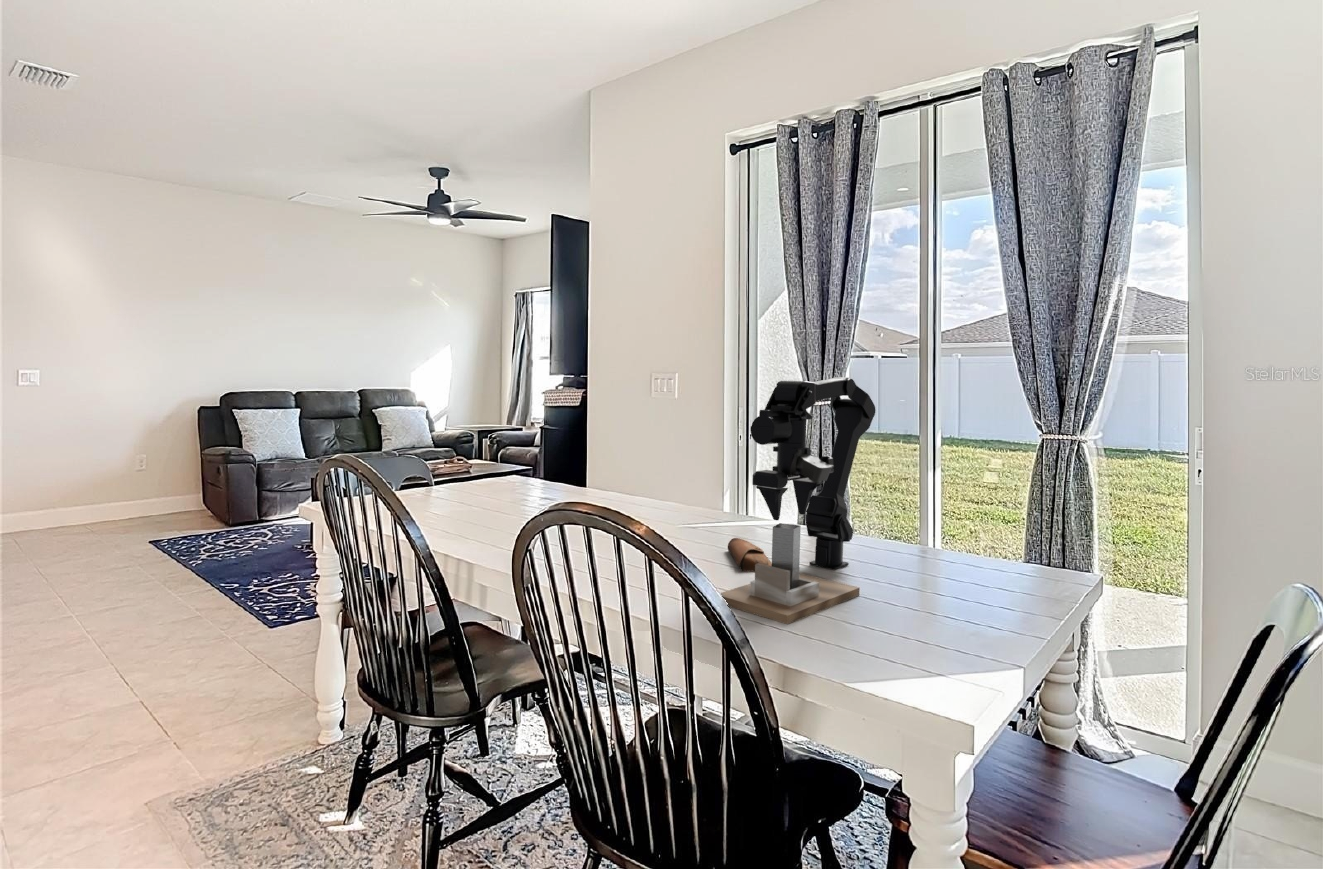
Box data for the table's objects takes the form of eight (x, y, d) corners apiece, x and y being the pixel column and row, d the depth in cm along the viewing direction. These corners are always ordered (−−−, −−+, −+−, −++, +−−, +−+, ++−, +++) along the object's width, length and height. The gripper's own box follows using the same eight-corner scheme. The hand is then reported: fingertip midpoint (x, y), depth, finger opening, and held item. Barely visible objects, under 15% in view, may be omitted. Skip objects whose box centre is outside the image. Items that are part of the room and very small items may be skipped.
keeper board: (790, 577, 150) (791, 542, 150) (859, 595, 139) (860, 557, 138) (715, 602, 133) (716, 562, 133) (787, 624, 122) (788, 580, 121)
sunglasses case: (778, 570, 155) (763, 544, 155) (750, 587, 155) (735, 561, 155) (761, 550, 173) (748, 527, 173) (736, 565, 173) (723, 541, 173)
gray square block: (777, 590, 136) (779, 523, 135) (798, 594, 134) (800, 525, 133) (770, 596, 132) (772, 526, 131) (791, 599, 131) (793, 529, 129)
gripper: (798, 448, 135) (796, 529, 136) (850, 442, 148) (847, 517, 149) (751, 443, 143) (749, 520, 144) (804, 438, 156) (802, 509, 157)
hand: (789, 517), depth 148 cm, fingers open, 9 cm apart
